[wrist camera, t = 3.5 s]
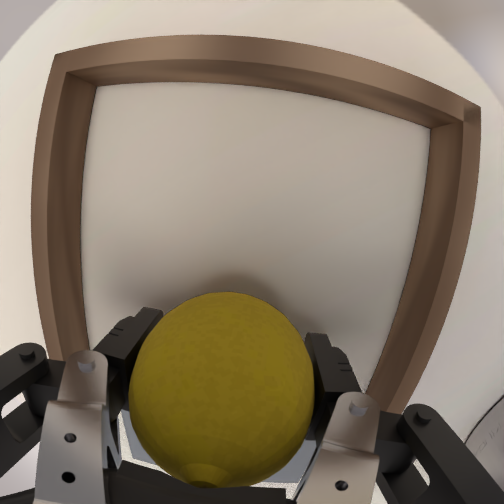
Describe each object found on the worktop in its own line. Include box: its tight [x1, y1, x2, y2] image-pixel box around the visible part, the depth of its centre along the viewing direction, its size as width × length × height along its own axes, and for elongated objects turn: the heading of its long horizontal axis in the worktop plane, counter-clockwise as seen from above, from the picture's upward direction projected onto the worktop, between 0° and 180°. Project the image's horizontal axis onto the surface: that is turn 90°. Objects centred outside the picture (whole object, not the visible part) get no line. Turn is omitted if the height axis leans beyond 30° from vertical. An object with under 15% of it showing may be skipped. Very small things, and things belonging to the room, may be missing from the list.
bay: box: [31, 35, 481, 414], centre depth 10 cm, size 17×15×2 cm
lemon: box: [128, 292, 315, 488], centre depth 8 cm, size 6×6×8 cm
